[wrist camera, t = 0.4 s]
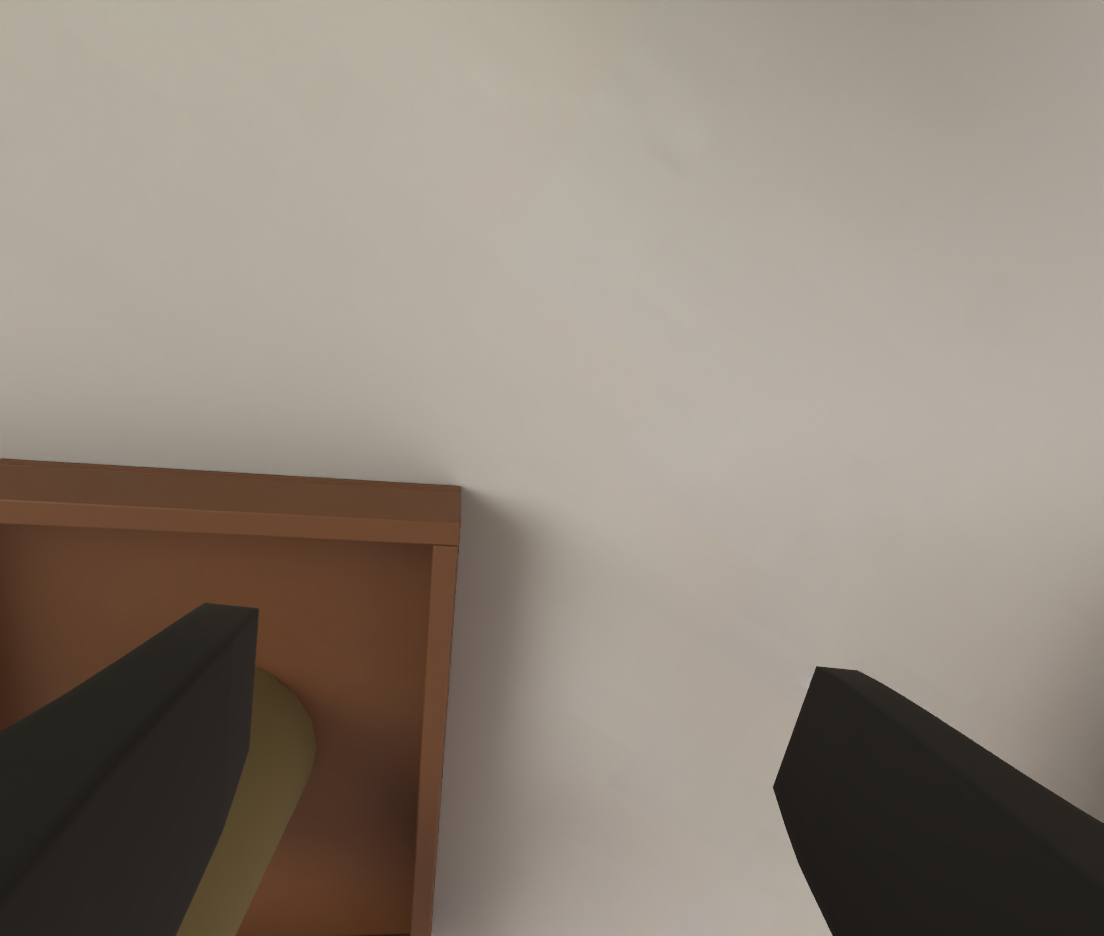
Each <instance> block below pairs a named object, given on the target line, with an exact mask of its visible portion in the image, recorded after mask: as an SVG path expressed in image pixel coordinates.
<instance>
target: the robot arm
mask: <svg viewBox="0 0 1104 936" xmlns="http://www.w3.org/2000/svg"><path fill="white" fill-rule="evenodd" d="M258 618H259V608H251V607H242V606H232V605H222V604H213V603H204V604H202V605H200V606H199V607H197V608H196V609H194V610H192V611H191V612H189V613H188V614H186V615H185V616H183V617H182V618H180V619H179V620H177V621H176V622H174V623H173V624H171V625H170V626H168V627H167V628H165V629H164V630H162V631H161V632H159V633H158V634H156V635H155V636H153V637H152V638H150V639H149V640H147V641H146V642H144V643H143V644H141V645H140V646H138V647H137V648H135V649H134V650H132V651H131V652H129V653H128V654H126V655H125V656H123V657H121V658H120V659H118V660H117V661H115V662H114V663H112V664H111V665H109V666H107V667H106V668H104V669H103V670H101V671H100V672H98V673H97V674H95V675H93V676H92V677H90V678H89V679H87V680H86V681H84V682H83V683H81V684H79V685H78V686H76V687H75V688H73V689H72V690H70V691H69V692H67V693H65V694H64V695H62V696H60V697H59V698H57V699H55V700H54V701H52V702H50V703H49V704H47V705H45V706H43V707H42V708H40V709H38V710H37V711H35V712H33V713H31V714H30V715H28V716H26V717H25V718H23V719H21V720H19V721H18V722H16V723H14V724H13V725H11V726H9V727H7V728H6V729H4V730H2V731H1V732H0V936H176V934H177V932H178V930H179V928H180V925H181V923H182V921H183V919H184V917H185V914H186V912H187V910H188V908H189V906H190V903H191V901H192V899H193V897H194V895H195V892H196V890H197V888H198V886H199V883H200V881H201V879H202V877H203V875H204V872H205V870H206V868H207V866H208V863H209V861H210V859H211V857H212V855H213V852H214V850H215V848H216V846H217V843H218V841H219V839H220V836H221V834H222V832H223V829H224V826H225V823H226V820H227V817H228V814H229V811H230V808H231V805H232V802H233V799H234V796H235V793H236V790H237V786H238V783H239V780H240V777H241V774H242V771H243V767H244V764H245V761H246V758H247V755H248V752H249V746H250V731H251V717H252V703H253V689H254V675H255V661H256V646H257V632H258ZM773 789H774V792H775V795H776V798H777V801H778V805H779V808H780V811H781V814H782V817H783V820H784V824H785V827H786V830H787V833H788V835H789V838H790V841H791V844H792V847H793V849H794V852H795V855H796V858H797V860H798V863H799V865H800V868H801V870H802V872H803V874H804V876H805V878H806V881H807V883H808V885H809V887H810V889H811V891H812V893H813V895H814V897H815V900H816V902H817V904H818V906H819V908H820V910H821V912H822V914H823V916H824V918H825V920H826V923H827V925H828V927H829V929H830V931H831V933H832V935H833V936H1104V824H1103V823H1102V822H1100V821H1098V820H1097V819H1095V818H1093V817H1092V816H1090V815H1088V814H1087V813H1085V812H1084V811H1082V810H1080V809H1079V808H1077V807H1075V806H1074V805H1072V804H1070V803H1069V802H1067V801H1066V800H1064V799H1062V798H1061V797H1059V796H1058V795H1056V794H1055V793H1053V792H1051V791H1050V790H1048V789H1047V788H1045V787H1043V786H1042V785H1040V784H1039V783H1037V782H1036V781H1034V780H1032V779H1031V778H1029V777H1028V776H1026V775H1025V774H1023V773H1022V772H1020V771H1018V770H1017V769H1015V768H1014V767H1012V766H1011V765H1009V764H1008V763H1006V762H1005V761H1003V760H1001V759H1000V758H998V757H997V756H995V755H994V754H992V753H991V752H989V751H988V750H986V749H985V748H983V747H982V746H980V745H978V744H977V743H975V742H974V741H972V740H971V739H969V738H968V737H966V736H965V735H963V734H962V733H960V732H959V731H957V730H955V729H954V728H952V727H951V726H949V725H948V724H946V723H945V722H943V721H942V720H940V719H939V718H937V717H935V716H934V715H932V714H931V713H929V712H928V711H926V710H925V709H923V708H921V707H920V706H918V705H917V704H915V703H913V702H912V701H910V700H909V699H907V698H905V697H904V696H902V695H901V694H899V693H897V692H896V691H894V690H892V689H891V688H889V687H887V686H886V685H884V684H882V683H880V682H878V681H877V680H875V679H873V678H871V677H869V676H867V675H865V674H863V673H861V672H859V671H857V670H847V669H837V668H828V667H818V666H816V669H815V672H814V675H813V677H812V680H811V683H810V686H809V688H808V691H807V694H806V697H805V700H804V702H803V705H802V708H801V711H800V713H799V716H798V719H797V722H796V725H795V727H794V730H793V733H792V736H791V738H790V741H789V744H788V747H787V750H786V752H785V755H784V758H783V761H782V763H781V766H780V769H779V772H778V775H777V777H776V780H775V783H774V786H773Z"/></svg>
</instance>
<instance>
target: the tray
mask: <svg viewBox="0 0 1104 936" xmlns="http://www.w3.org/2000/svg"><path fill="white" fill-rule="evenodd" d="M460 522H461V487H460V486H448V485H432V484H415V483H398V482H381V481H365V480H348V479H331V478H314V477H298V476H281V475H264V474H248V473H231V472H214V471H197V470H181V469H164V468H147V467H131V466H114V465H97V464H80V463H64V462H47V461H30V460H13V459H0V732H1V731H2V730H4V729H6V728H7V727H9V726H11V725H13V724H14V723H16V722H18V721H19V720H21V719H23V718H25V717H26V716H28V715H30V714H31V713H33V712H35V711H37V710H38V709H40V708H42V707H43V706H45V705H47V704H49V703H50V702H52V701H54V700H55V699H57V698H59V697H60V696H62V695H64V694H65V693H67V692H69V691H70V690H72V689H73V688H75V687H76V686H78V685H79V684H81V683H83V682H84V681H86V680H87V679H89V678H90V677H92V676H93V675H95V674H97V673H98V672H100V671H101V670H103V669H104V668H106V667H107V666H109V665H111V664H112V663H114V662H115V661H117V660H118V659H120V658H121V657H123V656H125V655H126V654H128V653H129V652H131V651H132V650H134V649H135V648H137V647H138V646H140V645H141V644H143V643H144V642H146V641H147V640H149V639H150V638H152V637H153V636H155V635H156V634H158V633H159V632H161V631H162V630H164V629H165V628H167V627H168V626H170V625H171V624H173V623H174V622H176V621H177V620H179V619H180V618H182V617H183V616H185V615H186V614H188V613H189V612H191V611H192V610H194V609H196V608H197V607H199V606H200V605H202V604H204V603H213V604H222V605H232V606H242V607H251V608H259V618H258V632H257V646H256V661H255V667H256V668H258V669H261V670H263V671H265V672H267V673H270V674H271V675H273V676H274V677H275V678H276V679H277V680H279V681H280V682H281V683H282V684H283V685H285V686H286V687H287V688H288V689H289V690H291V691H292V692H293V693H294V694H295V695H296V696H297V697H298V699H299V701H300V702H301V704H302V705H303V707H304V709H305V710H306V712H307V713H308V715H309V717H310V718H311V720H312V724H313V729H314V735H315V740H316V745H317V749H316V754H315V759H314V763H313V768H312V772H311V775H310V777H309V779H308V782H307V784H306V786H305V788H304V790H303V792H302V794H301V796H300V799H299V801H298V803H297V805H296V807H295V809H294V811H293V814H292V816H291V818H290V820H289V822H288V824H287V826H286V828H285V831H284V833H283V835H282V837H281V839H280V841H279V843H278V846H277V848H276V850H275V852H274V854H273V856H272V858H271V860H270V863H269V865H268V867H267V869H266V871H265V873H264V875H263V878H262V880H261V882H260V884H259V886H258V888H257V890H256V892H255V895H254V897H253V899H252V901H251V903H250V905H249V907H248V910H247V912H246V914H245V916H244V918H243V920H242V922H241V924H240V927H239V929H238V931H237V933H236V935H235V936H431V927H432V913H433V899H434V886H435V872H436V858H437V844H438V830H439V816H440V802H441V788H442V774H443V760H444V746H445V732H446V718H447V705H448V691H449V677H450V663H451V649H452V635H453V621H454V607H455V593H456V579H457V565H458V551H459V538H460Z"/></svg>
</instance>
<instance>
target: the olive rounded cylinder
mask: <svg viewBox="0 0 1104 936" xmlns="http://www.w3.org/2000/svg"><path fill="white" fill-rule="evenodd" d="M316 749H317V745H316V740H315V735H314V729H313V724H312V720H311V718H310V717H309V715H308V713H307V712H306V710H305V709H304V707H303V705H302V704H301V702H300V701H299V699H298V697H297V696H296V695H295V694H294V693H293V692H292V691H291V690H289V689H288V688H287V687H286V686H285V685H283V684H282V683H281V682H280V681H279V680H277V679H276V678H275V677H274V676H273V675H271V674H270V673H267V672H265V671H263V670H261V669H258V668H256V667H255V675H254V689H253V703H252V717H251V731H250V746H249V752H248V755H247V758H246V761H245V764H244V767H243V771H242V774H241V777H240V780H239V783H238V786H237V790H236V793H235V796H234V799H233V802H232V805H231V808H230V811H229V814H228V817H227V820H226V823H225V826H224V829H223V832H222V834H221V836H220V839H219V841H218V843H217V846H216V848H215V850H214V852H213V855H212V857H211V859H210V861H209V863H208V866H207V868H206V870H205V872H204V875H203V877H202V879H201V881H200V883H199V886H198V888H197V890H196V892H195V895H194V897H193V899H192V901H191V903H190V906H189V908H188V910H187V912H186V914H185V917H184V919H183V921H182V923H181V925H180V928H179V930H178V932H177V934H176V936H235V935H236V933H237V931H238V929H239V927H240V924H241V922H242V920H243V918H244V916H245V914H246V912H247V910H248V907H249V905H250V903H251V901H252V899H253V897H254V895H255V892H256V890H257V888H258V886H259V884H260V882H261V880H262V878H263V875H264V873H265V871H266V869H267V867H268V865H269V863H270V860H271V858H272V856H273V854H274V852H275V850H276V848H277V846H278V843H279V841H280V839H281V837H282V835H283V833H284V831H285V828H286V826H287V824H288V822H289V820H290V818H291V816H292V814H293V811H294V809H295V807H296V805H297V803H298V801H299V799H300V796H301V794H302V792H303V790H304V788H305V786H306V784H307V782H308V779H309V777H310V775H311V772H312V768H313V763H314V759H315V754H316Z"/></svg>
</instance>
